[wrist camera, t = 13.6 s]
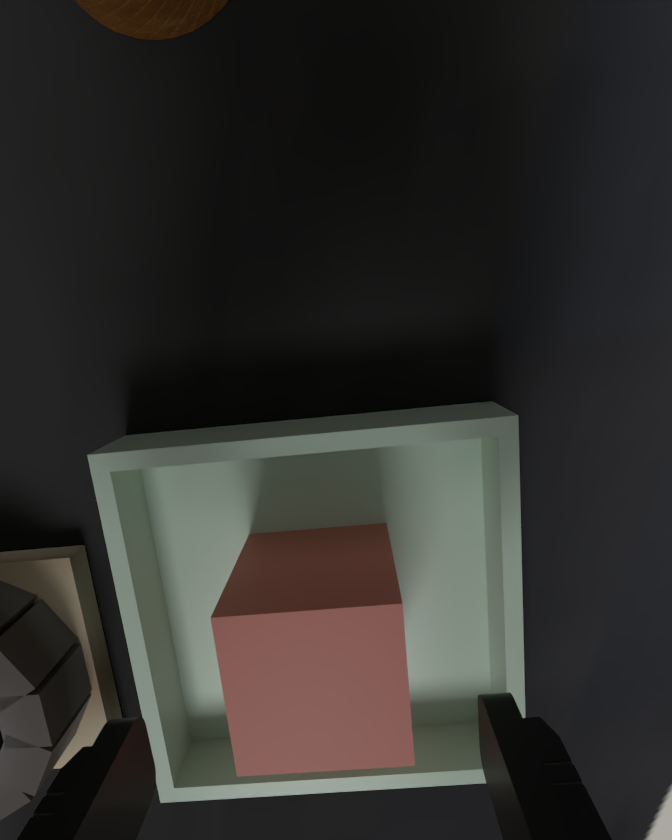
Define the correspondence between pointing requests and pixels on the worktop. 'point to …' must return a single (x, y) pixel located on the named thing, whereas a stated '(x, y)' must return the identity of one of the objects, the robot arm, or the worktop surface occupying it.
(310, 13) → the worktop surface
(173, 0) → the disposable coffee cup
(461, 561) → the tray
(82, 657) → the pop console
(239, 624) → the cube
